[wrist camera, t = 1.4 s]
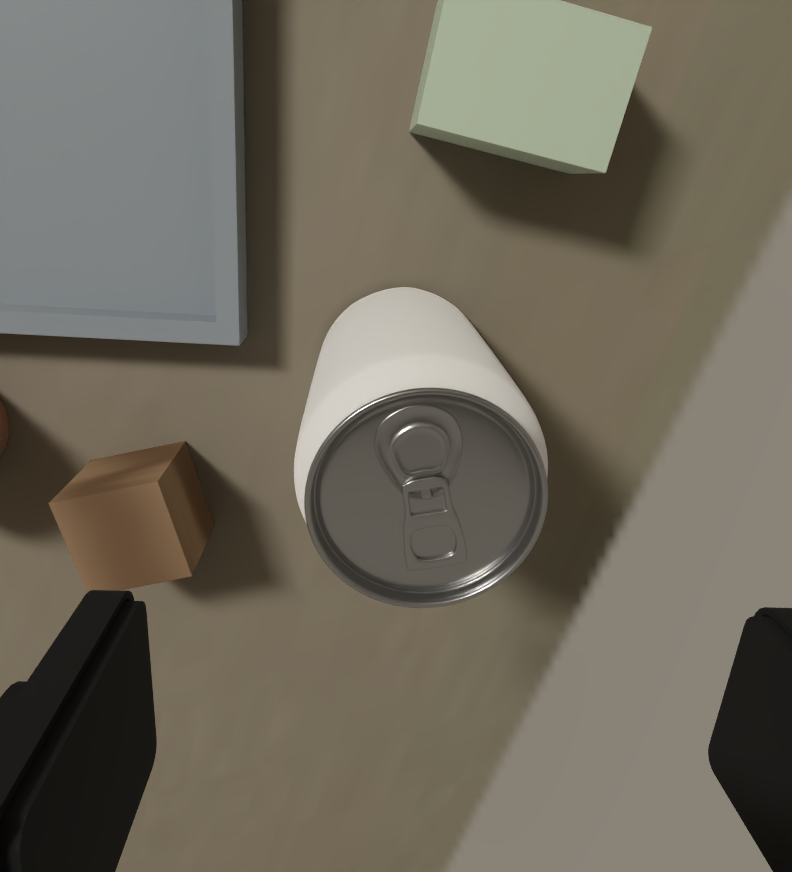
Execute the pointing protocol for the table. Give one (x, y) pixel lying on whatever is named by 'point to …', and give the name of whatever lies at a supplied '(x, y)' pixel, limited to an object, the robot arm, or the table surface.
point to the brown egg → (3, 427)
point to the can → (418, 455)
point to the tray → (123, 170)
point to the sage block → (529, 80)
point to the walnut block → (135, 518)
